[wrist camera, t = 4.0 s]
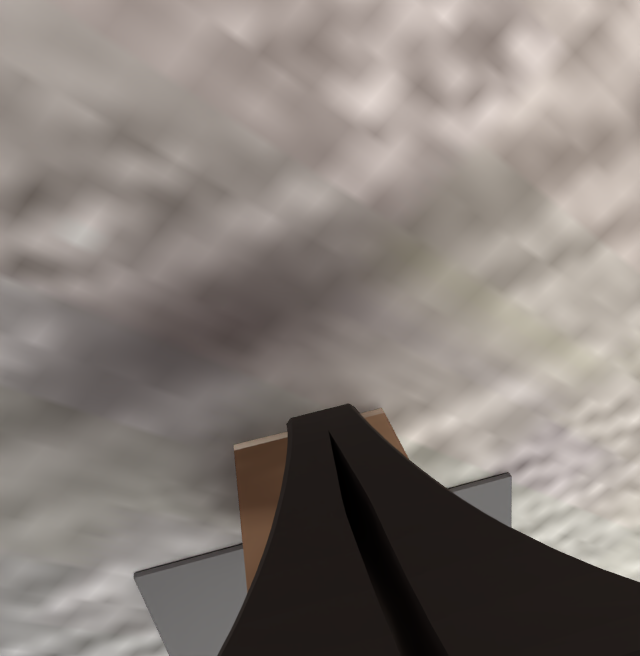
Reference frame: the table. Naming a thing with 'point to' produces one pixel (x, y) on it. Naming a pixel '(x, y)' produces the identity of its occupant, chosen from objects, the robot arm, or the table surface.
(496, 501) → the mat
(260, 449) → the walnut block
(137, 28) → the table surface
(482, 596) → the robot arm
